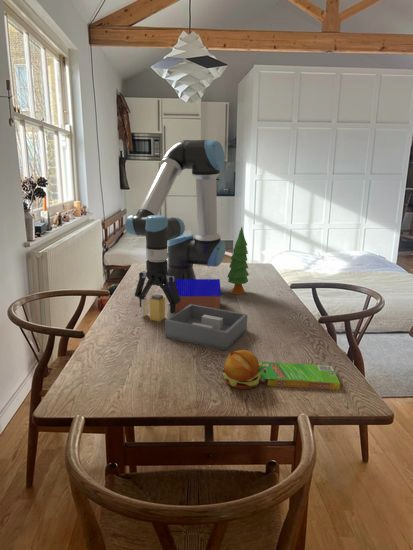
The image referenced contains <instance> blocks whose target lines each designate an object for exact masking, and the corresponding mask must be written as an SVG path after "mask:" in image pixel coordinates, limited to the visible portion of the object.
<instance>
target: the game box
mask: <svg viewBox="0 0 413 550" xmlns="http://www.w3.org/2000/svg"><path fill="white" fill-rule="evenodd" d="M259 365H260V366H262V367H263V368H262V370H261V375H260V378H261V379H263V380H266V383H267V386H271V387H272V386H274V387H287V386H288V388H289V387H290V388H303V387H304V388H303V389H305V388H307V387H308V388H307V389H319V388H321V389H323V390H334V389H337V391H339V390H340V386H341V382H340V380H339V378H338V376H337V374H336V371H335V369H334V366H333V365H322V364H321V365H320V364H319V365H318V364H303V363H291V362H290V363H289V362H288V363H287V362H272V361H261V362H259ZM264 369H265V372H264ZM338 389H339V390H338Z"/></svg>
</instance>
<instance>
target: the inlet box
mask: <svg viewBox="0 0 413 550" xmlns="http://www.w3.org/2000/svg"><path fill="white" fill-rule="evenodd" d="M247 328H248V314H247V313H242V312H237V311H233V310H232V311H231V310H227V309H226V310H225V309H221V308H220V309H215V308H210V307H204V306H199V305H193V304H190V305H188V306H187V307H185V308H183V309H182V310H180V311H179V312H175V313H173V315H172V316H171V317H169V318H168V317H167V318H165V320H164V337H165V338H168V339H171V340H176V341H180V342H184V343H185V342H186V343H190V344H194V345H198V346H203V347H208V348H212V349H217V350H222V351H229V350H230V349H231V347H232V346H233V345H234V344H235V343H236V342H237V341H238V340H239V339H240V338H241V337H242V336H243V335H244V334H245V333H246V332H247V331H248V329H247Z"/></svg>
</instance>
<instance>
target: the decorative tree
mask: <svg viewBox="0 0 413 550" xmlns="http://www.w3.org/2000/svg"><path fill="white" fill-rule="evenodd" d="M247 247H248V243H247V240H246V238H245V234H244V229H243V226H241V228H240V230H239V232H238V236H237V239H236V241H235V243H234V247H233V249H232V250H233V253H232V255H231V257H230V260H231V262H230V264H229V269H230V270H229V272H228V274H227V281H228V283H230V284H234V286H233V288H232V289H231V293H230V294H232V295H233V294H234V295H243V294H245V293H246V291H245V289H244V286H243V285H245V284H247V283H248V282H249V280H248V276H249V275H250V274H249V272H248V270H247V269H249V266H248V265H249V264H248V263H247V261H248V257H247V255H248V254H249V253H248V252H249V251H248V248H247Z"/></svg>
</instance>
